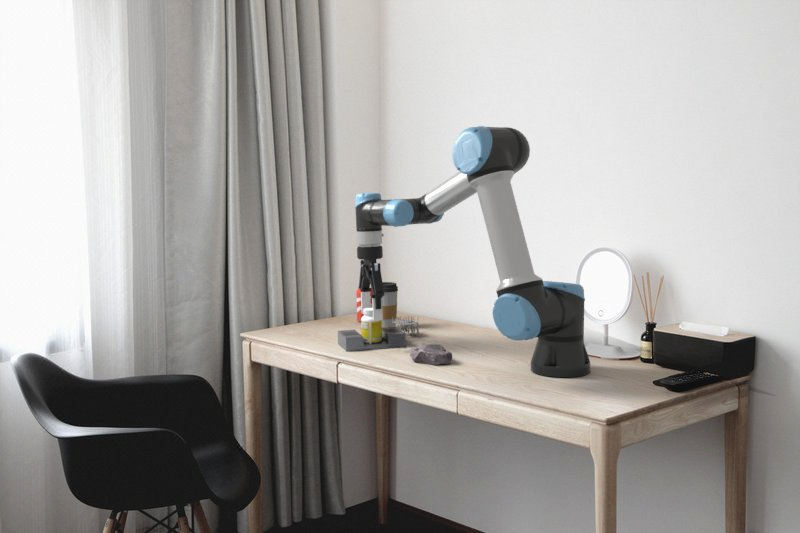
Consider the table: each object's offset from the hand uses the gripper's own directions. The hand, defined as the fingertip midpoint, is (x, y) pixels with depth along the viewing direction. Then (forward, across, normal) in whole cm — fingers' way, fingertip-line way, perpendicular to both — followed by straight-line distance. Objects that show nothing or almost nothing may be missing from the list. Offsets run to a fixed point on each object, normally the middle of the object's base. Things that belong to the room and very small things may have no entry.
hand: (371, 316), depth 247 cm
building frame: (+9, +10, -14) cm, 20 cm away
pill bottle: (+9, +1, 0) cm, 9 cm away
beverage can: (+8, +38, -8) cm, 40 cm away
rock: (+10, -25, -10) cm, 29 cm away
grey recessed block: (+9, 0, 0) cm, 9 cm away
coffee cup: (+9, +24, -11) cm, 27 cm away
